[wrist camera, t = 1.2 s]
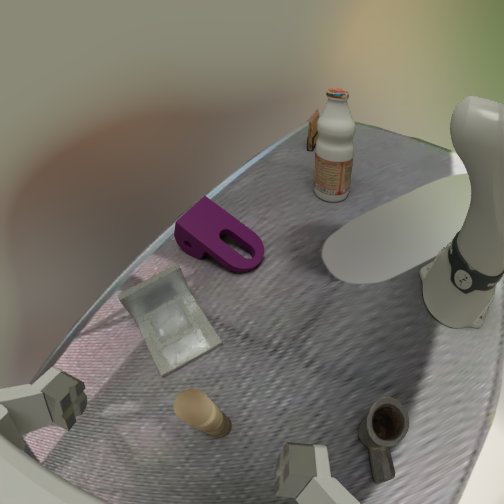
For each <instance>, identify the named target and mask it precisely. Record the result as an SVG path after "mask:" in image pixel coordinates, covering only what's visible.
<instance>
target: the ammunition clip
mask: <svg viewBox="0 0 504 504" xmlns="http://www.w3.org/2000/svg"><path fill="white" fill-rule="evenodd" d="M318 119H319V112H318V109H317V110H316V111H315V113H314V114H313V116H312V117H311V118H310V120H309V129H308V138H307V151H313V150H314V148H315V146H316V141H317V139H318V136H319V135H318V131H317V121H318Z"/></svg>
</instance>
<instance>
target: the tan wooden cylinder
mask: <svg viewBox="0 0 504 504" xmlns="http://www.w3.org/2000/svg"><path fill="white" fill-rule="evenodd" d="M174 411H175V414H176V415H177V417H178V418H179V419H180V420H182V421H183V422H185V423H187V424H189V425H191V426H193V427H195V428H197V429H199V430H201V431H203V432H205V433H207V434H209V435H211V436H214V437H217V438H221V437H224V436H226V435H228V434H229V432H230V431H231V428H232V424H231V421H230V419H229V418H228V417H227V416H226V415H225V414H224V413H223V412H222V411H221V410H220V409H219V408H218V407H217V406H216V405H215V404H214V403H213V402H212V401H211V400H210V399H209V398H208V397H207V396H206V395H205V394H204V393H203V392H201V391H199V390H196V389H188V390H185V391H183V392H181V393H180V394H179V395H178V396H177V397H176V399H175V401H174Z"/></svg>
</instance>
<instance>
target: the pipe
mask: <svg viewBox="0 0 504 504" xmlns="http://www.w3.org/2000/svg"><path fill="white" fill-rule="evenodd" d="M408 428H409V417H408V413H407V411H406V409H405V408H404V407H403V405H402V404H401V403H399V402H398V401H397V400H395V399H393V398H392V397H387V396H384V397H381V398H380V399H378V400H377V401H376V402H375V403H374V404H373V405H372V407H371V409H370V411H369V413H368V416H366V417H365V418H364V419H363V420H362V422H361V423H360V426H359V431H358V433H359V438H360V440H361V442H362V443H363V444H364V445H366V446H367V447H368V449H369V455H370V462H371V467H372V472H373V478H374V482H375V483H376V484H377V483H382V482H385V481H388V480H391V479H393V478H394V477H395V470H394V465H393V461H392V457H391V453H390V449H389V446H394V445H396V444H397V443H399V442H400V441H401V440H402V439H403V438H404V437H405V435H406V433H407V431H408Z"/></svg>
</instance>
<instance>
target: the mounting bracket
mask: <svg viewBox="0 0 504 504" xmlns="http://www.w3.org/2000/svg"><path fill="white" fill-rule="evenodd" d="M223 234H226V235H228V236H230V237H231V238H232V239H234V240H235V241H236V242H238V243H239V244H240V245H242V246H243V247H244V248H246V249H247V250H248V251H250V252H251V254H252V258H251V259H246V258H244V257H243V256H241V255H240V254H239V253H238V252H236V251H235V250H234V249H232V248H231V247H230V246H228V245H227V244H226V243H224V242H223V241H222V240H221V239H220V237H221V236H222V235H223ZM174 236H175V239H176V242H177V243H178V245H179V246H180V247H181V249H182V250H183V251H184V252H186V253H187V254H188V255H190V256H192V257H195V258H197V259H200V258H202V257H203V255H204V254H205V253H206V252H207V253H208V254H209V255H210V256H212V257H213V258H214V259H216V260H217V261H218V262H219V263H221V264H222V265H223V266H225V267H226V268H227V269H229V270H231V271H233V272H237V273H246V272H249V271H251V270H253V269H254V268H256V267H257V265H258V264H259V263H260V261H261V260H262V258H263V255H264V246H263V243H262V241H261V239H260V238H259V236H258V235H257V234H255V233H254V232H253V231H252V230H250V229H249V228H248V227H246V226H245V225H244V224H242V223H241V222H240V221H238V220H237V219H236V218H234V217H233V216H232V215H230V214H229V213H228V212H226V211H225V210H224V209H222V208H221V207H219V206H218V205H217V204H215V203H214V202H213V201H211V200H210V199H209V198H207V197H206V196H204V197H203V198H202V199H201V200H200V201H198V202H197V203H196V204H195V205H194V206H193V207H192V208H191V209H189V210H188V211H187V212H186V213H185V214H184V215H183V216H182V217H181V218H180V219H178V220H177V221H176V224H175V232H174Z"/></svg>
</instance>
